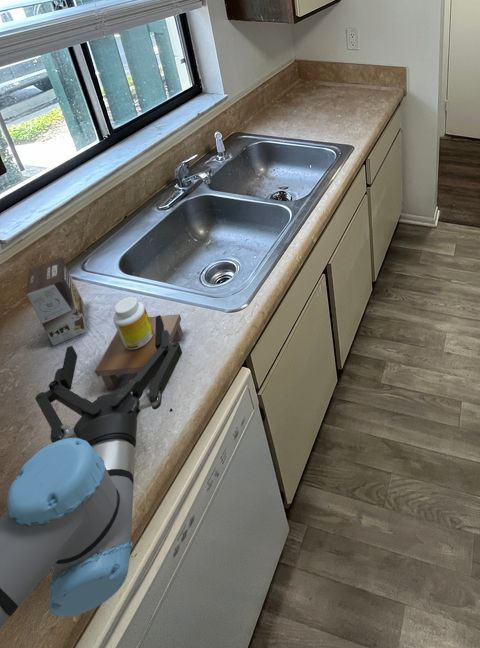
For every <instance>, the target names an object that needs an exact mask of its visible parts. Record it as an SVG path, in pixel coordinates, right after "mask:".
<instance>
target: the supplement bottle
mask: <svg viewBox="0 0 480 648" xmlns="http://www.w3.org/2000/svg"><path fill="white" fill-rule="evenodd" d="M149 317H150V316H149V315H148V312H147V309H146V307H145V304H144V303H143V302H141V301H138V299H137V298H136V297H134V296H128V297H124V298H122V299H121V300H119V301H118V302H117V303H116V304H115V306H114V315H113V318H112V319H113V323H114V325H115V328H116V330H117V331H118V333H119V335H120V337H121V339H122V342H123V344H124V346H125V347H126V348H128V349H137V348H140V347H142V346H144V345H145V344H147V343H148V342H149V341H150V339H151V338H152V336H153V327H152V325H151V322H150V320H149Z"/></svg>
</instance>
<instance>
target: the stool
mask: <svg viewBox="0 0 480 648" xmlns="http://www.w3.org/2000/svg"><path fill="white" fill-rule="evenodd" d="M160 316H161V318H162V321H163V324H164V331H165V330H168V332H169V335H170V344H172V343H173V342H179V341H181V340H182V339H183V336H184V332H183V329H182V326H181V320H182V317H181V314H180V313H178V314H169V315H168V314H167V315H160ZM148 317H149V320H150V322H151V325H152V327H153V336H152V338H151V339H150V341H149V342H148V343H147V344H145V345H144V346H142V347H140V348H137V349H128V348H126V347H125V346H124V344H123V342H122V339H121V337H120V335H119V333H118V330H117V331H116V332H115V334H114V336H113V338H112V340H111V341H110V343H109V345H108V347H107V349H106V351H105V352H104V354H103V356H102V358H101V359H100V360H99V363H98V365H97V367H96V368H95V370H94V373H95V375H96V376H97V377H101V379H102V381H103V383H104V385H105V387H106V389H111V388H112V389H113V388H116V386H117V384H118V382H119V381H120V379H119V377H118V375H126V374H134V373H135V374H136V373H137V374H138V373H139V372H140V370H141V369H142V368H143V367H144V365H145V364H146V363H147V362H148V361H149V359H150V358H151V357H152V356H153V354H154V353H155V352H156V351H157V349H156V346H155V327H156V316H148ZM155 376H156V375H155ZM155 376H154V377H153V379H154V378H155Z"/></svg>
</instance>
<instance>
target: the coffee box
mask: <svg viewBox="0 0 480 648" xmlns="http://www.w3.org/2000/svg"><path fill="white" fill-rule="evenodd" d="M25 293H26V294H25V295H26V296H27V298H28V300H29V302H30V304H31V306H32V308H33V310H34V312H35V314H36V316H37V318H38V319H39V321H40V323H41V325H42V327H43V329H44V331H45V333H46V335H47V336H48V338H49V340H50V342H51V345H52V346H56V345H59V344H61V343H64V342H66V341H68V340H71V339H73V338H76V337H78V336H80V335H83V334H85V333H86V305H85V302H84V300H83V298H82V296H81V294H80V292H79V289H78V287H77V285H76V283H75V281H74V278H73V277H72V274H71V273H70V269H68V266H67V264H66V262H65V259H64V257H63V256H62V257H58V258H55V259H52V260H50V261H47V262H45V263H42V264H40V265H37V266H34V267H31V268H29V270H28V276H27V284H26V292H25Z"/></svg>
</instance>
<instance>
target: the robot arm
mask: <svg viewBox="0 0 480 648" xmlns="http://www.w3.org/2000/svg"><path fill="white" fill-rule="evenodd" d="M161 316H162V315H161V314H159V315H156V316H155V317H156V327H155V346H156V349H157V351H156V352H155V353H154V354H153V356H152V357H151V358H150V359H149V361H148V362H147V363H146V364H145V365H144V367H143V368H142V369H141V370H140V372H137V374H136V376H134V377H133V378H132V379H130V380H129V381H128V382H127V383H126V384H125V386H123V388H121V387H120V388H118V389H114V390H113V391H111V392H110V393H106V394H102V395H100V396H97V398H96V399H95V400H93V401H91V400H89V399H88V398H86V397H85V398H83V397H82V396H80V395H78V394H77V393H75V392H74V391H72V387H73V381H74V375H75V370H76V365H77V360H78V355H77V352H76V350H75V348H74V347H73V345H70V346H67V347H66V350H65V354H64V359H63V364H62V367H60V368H57V370H56V371H55V374H54V377H53V380H52V381H50V382H49V384H48V388H49V389H48V390H47V391H41V392H38V393H37V395H36V396H35V401H36V403H37V405H38V407H39V409H40V410H41V412H42V414H43V416H44V418H45V420H46V421H47V423H48V425H49V427H50V437H49V438H50V442H51V443H50V444H48V445H46V446H44V447H43V448H41V449H40V450H38V451H37V452H36V453H34V455H33V456H31V457H29V459H28V460H27V461H26V462H25V463H24V464H23V466H22V467H20V469H19V472H18V473H17V475H16V477H15V478H14V480H13V481H12V483H11V484H10V487H9V489H8V492H7V498H6V502H7V503H6V505H7V510H6V511H5V512H4V513H3V514H2V515H1V516H0V630H1V629H2V628H3V626H4V625H5V624H6V623H7V621H8V620H9V619H10V618H11V617H12V616H13V615H14V614H15V612H17V610H18V609H19V608H20V607H21V606H22V604H23V603H24V602H25V601H26V599H28V597H29V596H30V594H32V593H33V591H34V590H35V589H36V588H37V586H38V585H39V584H40V583H41V581H42V580H43V579H44V578H45V577H46V575H47V574H48V573H49V572H50V571H51V569H52V568H53V572H52V577H51V580H50V582H49V600H48V606H49V611H50V612H51V614H53V615H54V616H57V617H61V618H69V617H75V616H79V615H82V614H85V613H87V612H89V611H91V610H94V609H95V608H97V607H98V606H101V605H102V604H104V603H105V602H106V601H108V600H110V599H111V598H112V597H113V596H114V595H115V594H116V593H117V592H118V591H119V590H120V589H121V587H122V586H123V585H124V583H125V582H126V579H127V577H128V573H129V567H130V560H131V559H130V557H131V549H132V548H133V541H132V526H133V505H134V504H133V503H134V481H135V480H134V479H135V466H136V446H137V431H138V417H139V414H140V413H141V411H142V410H145V409H149V408H151V407H152V409H153V410H158V409H159V408H160V407H161V405H162V400H163V399H162V398H163V394H164V392H165V389H166V387H167V386H168V384H169V382H170V379H171V377H172V375H173V373H174V371H175V369H176V367H177V365H178V363H179V361H180V359H181V357H182V354H183V350H182V347H181V345H180V342H179V341H173V342H172V343H171V344H170V335H169V332H168V330H165V331H164V324H163V321H162V318H161ZM155 375H156V376H155ZM154 376H155V378H154ZM150 383H151V384H150ZM149 384H150V387H149V389H147V390H146V391H145V395H144V396H143V394H144V390H145V389H146V388H147V386H148V385H149ZM142 396H143V398H142ZM55 401H57V402H58V403H60V404H62V405H64V407H67V408H68V409H69V410H71V411H73V412H75V413H76V414H77V415H79V416H80V418H79V419H78V420H77V422H76V423H75V424H74V427H71V426H70V425H68V424H67V425H66V424H63V422H62V420H61V418H60V417H59V415H58V413H57V411H56V410H55V407H54V406H53V405H52V403H53V402H55Z"/></svg>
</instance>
